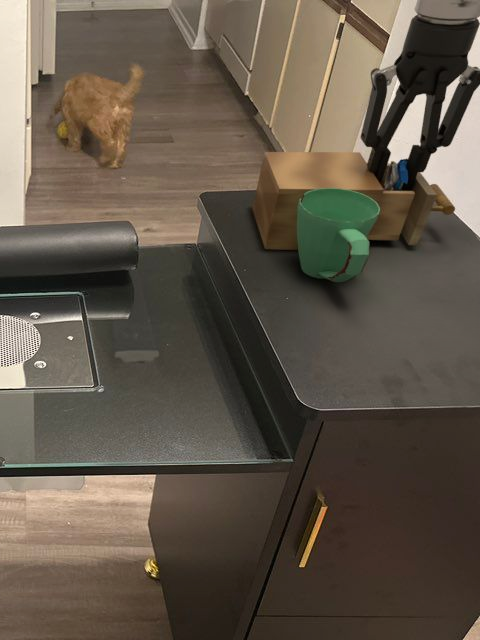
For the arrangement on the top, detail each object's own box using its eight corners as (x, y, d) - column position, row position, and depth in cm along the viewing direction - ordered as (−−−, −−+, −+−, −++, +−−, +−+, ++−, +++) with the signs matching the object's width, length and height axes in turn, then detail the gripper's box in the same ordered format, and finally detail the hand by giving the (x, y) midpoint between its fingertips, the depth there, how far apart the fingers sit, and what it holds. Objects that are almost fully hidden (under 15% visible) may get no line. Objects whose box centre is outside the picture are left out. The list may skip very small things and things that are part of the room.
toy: (401, 202, 103) (412, 168, 100) (374, 200, 104) (384, 167, 101) (398, 187, 106) (408, 154, 103) (371, 185, 107) (381, 153, 104)
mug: (274, 252, 106) (289, 189, 99) (343, 250, 105) (363, 186, 99) (305, 310, 95) (325, 242, 88) (383, 308, 94) (409, 239, 88)
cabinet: (342, 210, 114) (359, 152, 108) (363, 251, 105) (384, 189, 99) (252, 209, 116) (264, 151, 110) (264, 249, 107) (279, 188, 101)
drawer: (422, 208, 112) (441, 160, 106) (448, 245, 103) (470, 195, 98) (308, 206, 114) (321, 159, 109) (325, 243, 105) (339, 193, 100)
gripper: (383, 26, 88) (332, 203, 103) (534, 23, 86) (459, 204, 101) (367, 10, 94) (320, 180, 109) (508, 6, 91) (440, 181, 107)
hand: (387, 191), depth 105 cm, fingers closed on toy, 4 cm apart
